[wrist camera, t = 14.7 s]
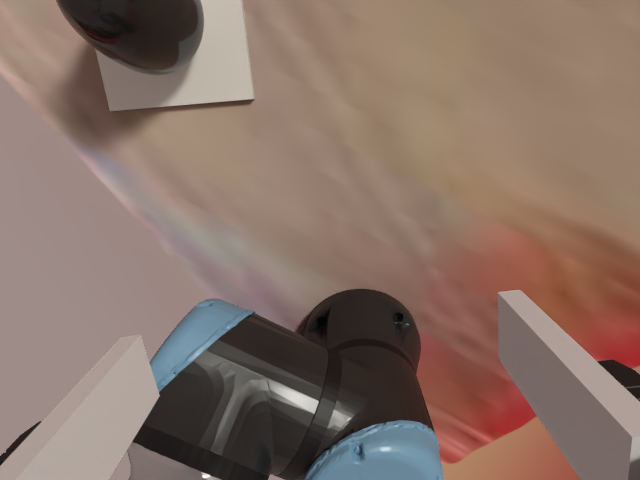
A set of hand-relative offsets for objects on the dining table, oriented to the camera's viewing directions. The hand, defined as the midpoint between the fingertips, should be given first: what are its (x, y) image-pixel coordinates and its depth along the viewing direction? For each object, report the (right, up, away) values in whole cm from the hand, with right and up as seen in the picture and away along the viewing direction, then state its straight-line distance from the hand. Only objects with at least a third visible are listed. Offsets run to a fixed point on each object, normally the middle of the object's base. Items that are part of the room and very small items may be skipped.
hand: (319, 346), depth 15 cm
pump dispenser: (-16, +26, +27) cm, 40 cm away
